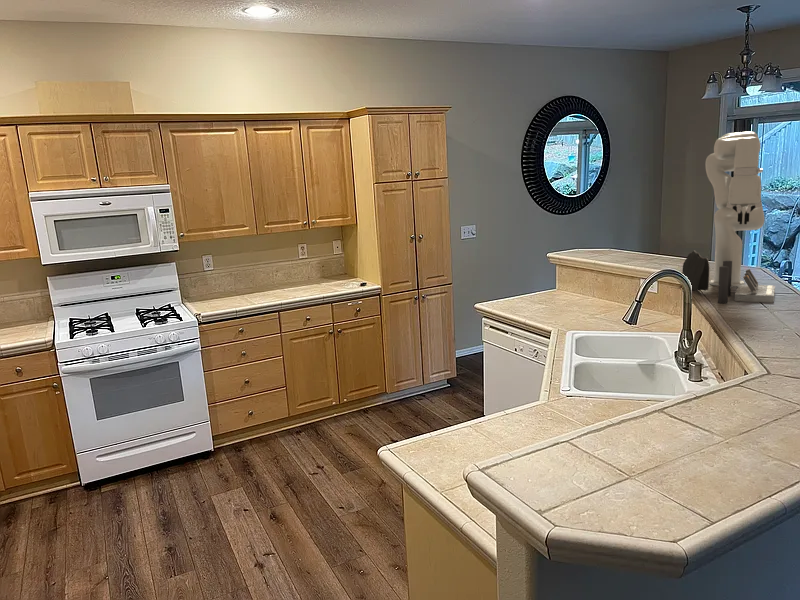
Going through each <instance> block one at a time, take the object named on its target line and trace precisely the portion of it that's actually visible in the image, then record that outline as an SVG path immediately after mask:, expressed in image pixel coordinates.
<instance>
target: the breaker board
mask: <svg viewBox="0 0 800 600" xmlns="http://www.w3.org/2000/svg"><path fill="white" fill-rule="evenodd" d="M775 291H776V285H764V284H761V285H760V284H758V288H757V292H756V294H753V292H751V290H750V288H749V287H748V285H747V284H744V285H738V286H737V287H736V290H735V293H734V302H747V303H748V302H751V303H768V304H773V303H775V302H774V301H775Z"/></svg>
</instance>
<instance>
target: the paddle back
mask: <svg viewBox="0 0 800 600" xmlns="http://www.w3.org/2000/svg"><path fill="white" fill-rule="evenodd" d="M747 272H749V273H750V275H751V277H752V278H753V280H754V281H755V283H756V285H757V287H758V285H759V282H758V280H757V279H756V277H755V276H754V274H753V272H752V270H751V269H747V270H745V273H747Z"/></svg>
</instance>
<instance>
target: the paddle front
mask: <svg viewBox="0 0 800 600" xmlns="http://www.w3.org/2000/svg"><path fill="white" fill-rule="evenodd" d="M742 278H743V280H744V282H745V283H746V285H748V287H749V288H750V290H751V292H753V294H756V292H757V290H756V288H755V286H754V285H753V283H752V281H751V280H750V278H749V276H748V275H746V276H745V275H743V277H742Z"/></svg>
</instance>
